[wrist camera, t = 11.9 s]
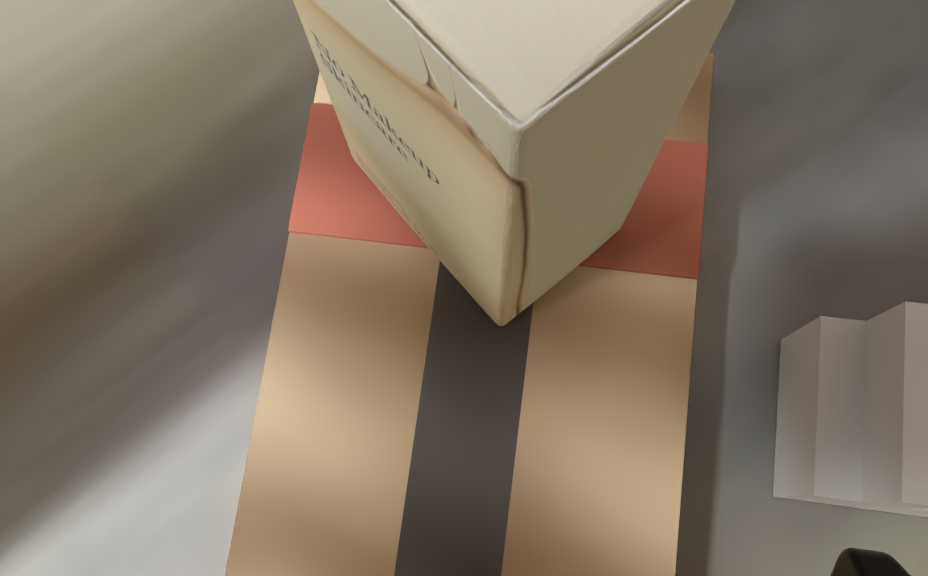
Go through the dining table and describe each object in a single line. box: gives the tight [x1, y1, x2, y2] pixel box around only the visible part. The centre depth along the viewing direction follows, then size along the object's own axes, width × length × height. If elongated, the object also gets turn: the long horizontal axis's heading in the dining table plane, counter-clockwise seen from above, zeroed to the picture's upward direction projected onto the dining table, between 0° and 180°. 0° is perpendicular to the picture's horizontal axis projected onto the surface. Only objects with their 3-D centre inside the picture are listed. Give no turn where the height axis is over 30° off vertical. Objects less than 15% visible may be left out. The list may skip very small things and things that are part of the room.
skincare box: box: [293, 0, 735, 326], centre depth 17 cm, size 6×4×12 cm
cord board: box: [225, 53, 714, 576], centre depth 22 cm, size 17×10×1 cm, turn 172°
